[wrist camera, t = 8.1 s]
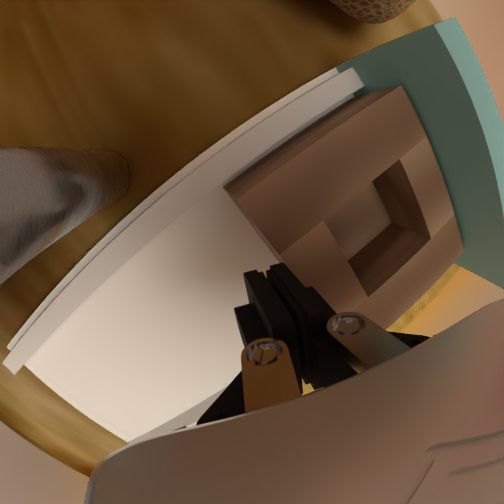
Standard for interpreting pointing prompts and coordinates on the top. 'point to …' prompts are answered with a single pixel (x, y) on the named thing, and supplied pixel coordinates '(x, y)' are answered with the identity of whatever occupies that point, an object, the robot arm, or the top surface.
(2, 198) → the dowel
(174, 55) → the top surface
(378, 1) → the natural sponge
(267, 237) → the block
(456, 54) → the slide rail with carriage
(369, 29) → the top surface
